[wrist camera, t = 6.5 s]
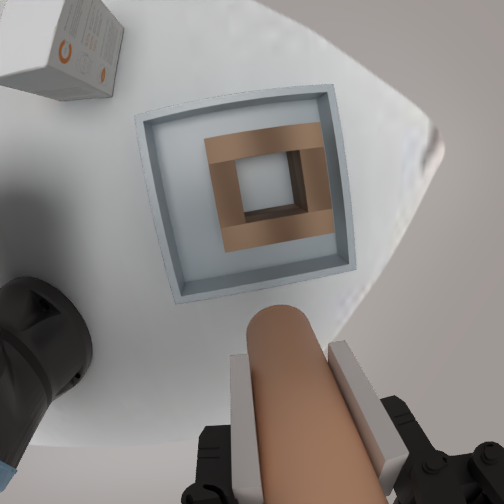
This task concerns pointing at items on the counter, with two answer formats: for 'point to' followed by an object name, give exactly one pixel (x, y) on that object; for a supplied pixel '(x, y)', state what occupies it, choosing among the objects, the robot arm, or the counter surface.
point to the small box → (59, 48)
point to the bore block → (302, 181)
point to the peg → (303, 418)
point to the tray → (251, 188)
